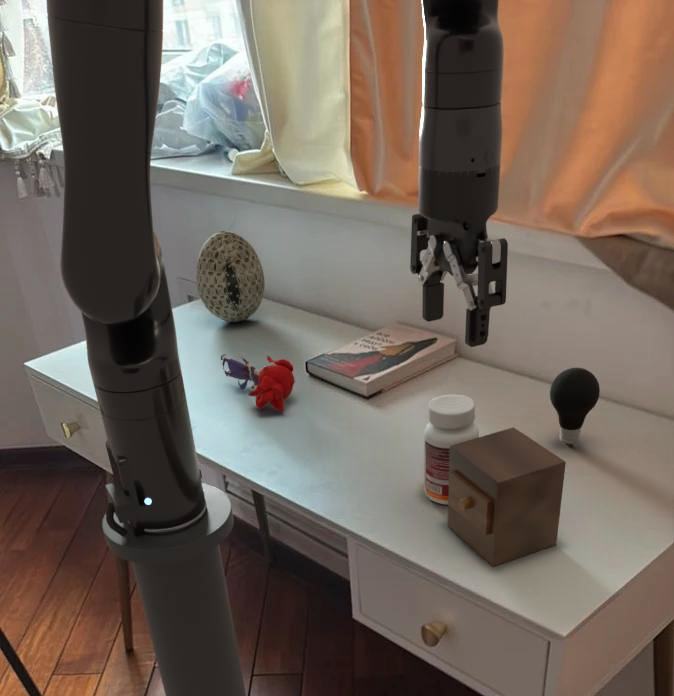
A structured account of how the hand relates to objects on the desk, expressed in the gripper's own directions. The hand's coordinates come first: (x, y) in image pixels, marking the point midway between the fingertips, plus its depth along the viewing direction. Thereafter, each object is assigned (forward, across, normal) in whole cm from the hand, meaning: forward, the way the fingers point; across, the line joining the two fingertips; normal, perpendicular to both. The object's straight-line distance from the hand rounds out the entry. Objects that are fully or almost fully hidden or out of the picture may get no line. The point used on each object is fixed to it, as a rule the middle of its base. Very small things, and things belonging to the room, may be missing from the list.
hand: (453, 331), depth 88 cm
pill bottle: (+20, 0, 0) cm, 20 cm away
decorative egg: (+20, -71, -1) cm, 74 cm away
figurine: (+20, -37, -10) cm, 43 cm away
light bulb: (+19, -2, +19) cm, 27 cm away
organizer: (+19, +11, 0) cm, 22 cm away
